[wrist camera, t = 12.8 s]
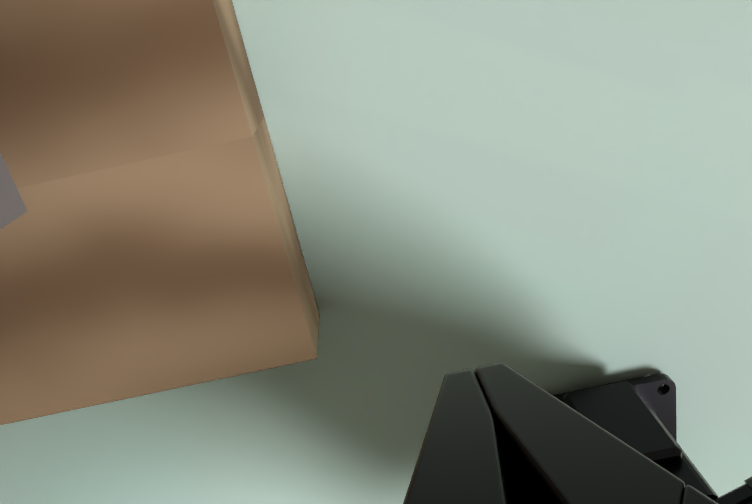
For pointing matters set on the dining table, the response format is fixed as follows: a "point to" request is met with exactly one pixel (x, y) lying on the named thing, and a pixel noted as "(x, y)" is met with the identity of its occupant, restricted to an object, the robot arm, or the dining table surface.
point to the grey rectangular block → (9, 197)
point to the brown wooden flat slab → (139, 207)
